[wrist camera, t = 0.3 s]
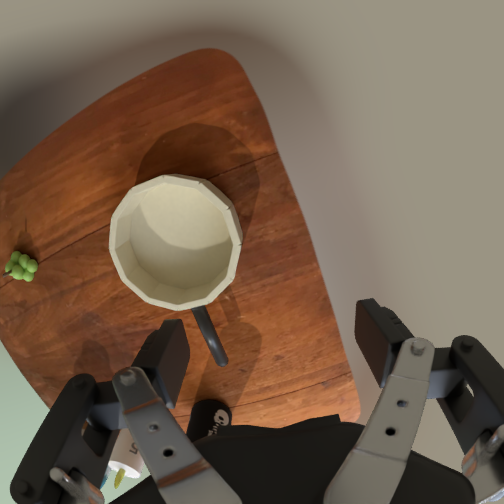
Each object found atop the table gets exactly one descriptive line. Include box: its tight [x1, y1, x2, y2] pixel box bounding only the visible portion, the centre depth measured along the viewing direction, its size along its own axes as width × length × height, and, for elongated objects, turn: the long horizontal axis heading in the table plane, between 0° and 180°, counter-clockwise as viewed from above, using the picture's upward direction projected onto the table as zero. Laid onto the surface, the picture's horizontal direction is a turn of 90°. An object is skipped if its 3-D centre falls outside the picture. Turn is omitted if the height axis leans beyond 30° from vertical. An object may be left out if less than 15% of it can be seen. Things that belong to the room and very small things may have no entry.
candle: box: [108, 428, 144, 489], centre depth 36 cm, size 6×6×15 cm
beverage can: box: [186, 400, 232, 443], centre depth 34 cm, size 7×7×12 cm
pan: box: [109, 174, 243, 367], centre depth 31 cm, size 23×14×5 cm, turn 17°
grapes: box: [3, 251, 38, 281], centre depth 30 cm, size 7×5×6 cm, turn 67°
